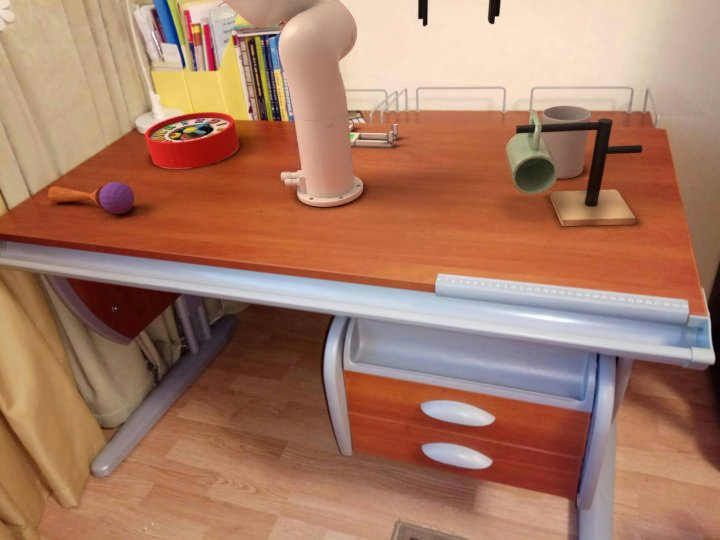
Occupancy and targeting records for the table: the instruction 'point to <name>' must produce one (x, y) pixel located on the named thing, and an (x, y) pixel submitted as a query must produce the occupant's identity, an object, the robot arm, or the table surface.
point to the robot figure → (374, 138)
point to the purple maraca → (98, 196)
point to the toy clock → (192, 140)
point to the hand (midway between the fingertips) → (457, 23)
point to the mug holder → (590, 181)
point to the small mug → (531, 160)
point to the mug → (567, 139)
